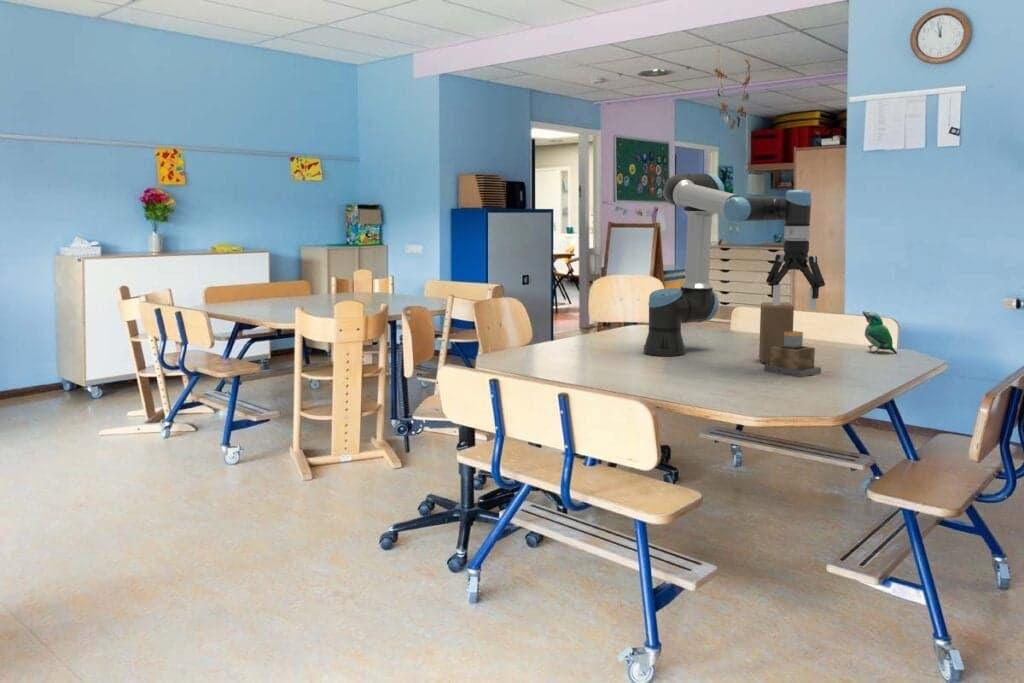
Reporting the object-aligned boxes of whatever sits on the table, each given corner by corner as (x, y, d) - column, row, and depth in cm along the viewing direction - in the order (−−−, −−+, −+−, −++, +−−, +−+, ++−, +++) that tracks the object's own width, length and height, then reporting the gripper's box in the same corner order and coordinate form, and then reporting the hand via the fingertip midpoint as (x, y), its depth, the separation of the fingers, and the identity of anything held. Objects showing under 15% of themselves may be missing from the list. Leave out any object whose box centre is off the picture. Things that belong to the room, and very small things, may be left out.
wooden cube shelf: (770, 365, 272) (770, 347, 272) (789, 362, 278) (789, 344, 277) (795, 369, 265) (795, 350, 264) (814, 366, 270) (814, 347, 269)
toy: (861, 354, 304) (863, 312, 302) (859, 350, 312) (861, 309, 309) (898, 355, 300) (901, 313, 298) (895, 351, 308) (897, 310, 306)
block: (792, 364, 286) (794, 305, 283) (761, 363, 288) (763, 304, 285) (788, 359, 295) (790, 302, 292) (758, 358, 297) (760, 301, 294)
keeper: (764, 370, 274) (765, 330, 273) (783, 367, 280) (785, 328, 278) (800, 377, 263) (802, 335, 261) (820, 373, 269) (822, 332, 267)
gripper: (756, 239, 274) (754, 304, 277) (823, 241, 253) (820, 311, 257) (771, 238, 278) (769, 303, 281) (839, 240, 258) (835, 309, 261)
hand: (793, 307), depth 269 cm, fingers open, 13 cm apart
